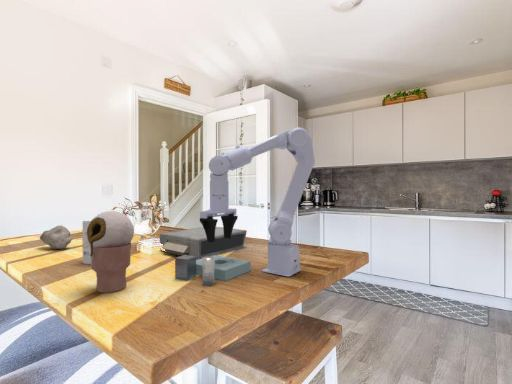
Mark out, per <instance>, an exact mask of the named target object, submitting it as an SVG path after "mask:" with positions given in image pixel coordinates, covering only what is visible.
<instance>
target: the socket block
mask: <svg viewBox="0 0 512 384" xmlns="http://www.w3.org/2000/svg"><path fill="white" fill-rule="evenodd" d="M212 257H215V280H218V281H223V282H227V281H230V280H231V279H234V278H237V277H240V276H242V275H245V274H246V273H249V272H251V270H252V269H251V268H252V267H251V266H252V265H251V264H252V263H251V262H252V261H250V260H246V259H245V260H244V259H239V258H234V257H228V256H222V255H213V256H212ZM197 275H198V276H201V277H202V259H199V260H197V259H196V276H197Z"/></svg>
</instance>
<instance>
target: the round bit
mask: <svg viewBox="0 0 512 384" xmlns="http://www.w3.org/2000/svg"><path fill="white" fill-rule="evenodd" d="M215 280H216V279H215V257H212V256H207V257H203V258H202V276H201V285H202V286H207V287H208V286H210V287H211V286H214V285H215V284H216V281H215Z"/></svg>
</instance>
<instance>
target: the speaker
mask: <svg viewBox="0 0 512 384" xmlns="http://www.w3.org/2000/svg"><path fill="white" fill-rule="evenodd" d="M247 232H248V231H247V230H246V229H240V228H233V230H232V234H231V238H224V230H223V226H222V227H221V226H216V228H215V240H214V242H208V241H207V237H206V233H205V230H204V228H203V226H199V227H193V228H188V229H187V228H186V229H180V230H175V231H167V232H160V233H159V244H160V243H161V244H163V247H162V248H163V249H165V251H166V252H165V253H167V252H168V253H167V254H171V253H172V255H176V254H177V256H180V255H181V256H183V255H189V256H196V260H199V259H202V258H203V257H207V256H213V255H217V256H220V255H223V253H224V254H227V252H228V253H230V252H231V253H232V252H235V251H238V250H242V249H243V248H244V247H245V246H244V245H245V242H246V241H245V240H246V236H247ZM219 254H220V255H219Z"/></svg>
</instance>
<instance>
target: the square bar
mask: <svg viewBox="0 0 512 384" xmlns="http://www.w3.org/2000/svg"><path fill="white" fill-rule="evenodd" d="M196 260H197V259H196V256H189V255H183V256H180V255H179V256H177V257H174V279H175V280H179V281H186V282H187V281H190V280H192V279H194V278H196V277H197V274H196Z"/></svg>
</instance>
